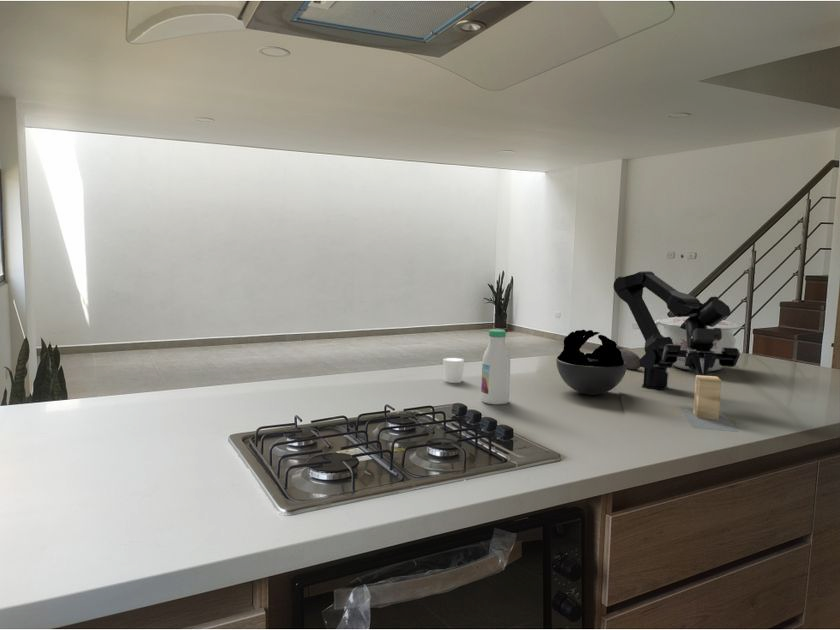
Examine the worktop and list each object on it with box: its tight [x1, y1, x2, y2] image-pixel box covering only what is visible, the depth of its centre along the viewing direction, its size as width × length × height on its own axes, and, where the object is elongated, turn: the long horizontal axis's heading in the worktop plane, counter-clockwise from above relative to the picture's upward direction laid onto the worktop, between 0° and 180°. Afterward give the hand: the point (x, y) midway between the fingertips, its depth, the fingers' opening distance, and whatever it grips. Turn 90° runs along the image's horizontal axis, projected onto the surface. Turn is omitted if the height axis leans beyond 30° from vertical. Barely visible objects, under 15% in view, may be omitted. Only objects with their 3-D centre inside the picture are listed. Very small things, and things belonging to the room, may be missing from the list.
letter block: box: [692, 374, 722, 419], centre depth 150 cm, size 5×5×10 cm
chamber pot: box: [654, 316, 742, 373], centre depth 214 cm, size 28×28×21 cm
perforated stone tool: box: [616, 346, 641, 371], centre depth 212 cm, size 15×5×7 cm, turn 24°
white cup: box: [442, 357, 465, 384], centre depth 186 cm, size 7×7×7 cm
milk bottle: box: [480, 328, 511, 406], centre depth 161 cm, size 8×8×20 cm
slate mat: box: [681, 408, 740, 433], centre depth 147 cm, size 17×10×1 cm, turn 165°
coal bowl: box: [555, 329, 628, 396], centre depth 172 cm, size 20×20×19 cm
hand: (703, 381), depth 157 cm, fingers closed
